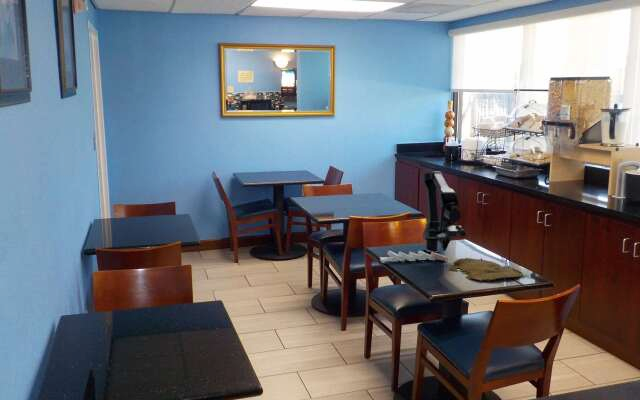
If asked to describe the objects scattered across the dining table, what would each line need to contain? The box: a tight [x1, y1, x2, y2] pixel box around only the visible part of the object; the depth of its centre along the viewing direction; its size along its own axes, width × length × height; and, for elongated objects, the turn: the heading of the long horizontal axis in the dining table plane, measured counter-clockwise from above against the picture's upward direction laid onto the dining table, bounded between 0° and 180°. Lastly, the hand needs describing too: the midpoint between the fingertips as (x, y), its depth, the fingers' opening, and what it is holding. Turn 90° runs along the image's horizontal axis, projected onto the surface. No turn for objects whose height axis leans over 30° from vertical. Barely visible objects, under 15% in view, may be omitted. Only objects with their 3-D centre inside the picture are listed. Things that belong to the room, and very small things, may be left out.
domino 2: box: [386, 250, 406, 262], centre depth 266 cm, size 4×2×7 cm
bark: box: [448, 257, 524, 282], centre depth 253 cm, size 28×4×30 cm
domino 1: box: [379, 256, 398, 264], centre depth 266 cm, size 4×2×7 cm
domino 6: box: [429, 252, 449, 261], centre depth 270 cm, size 4×2×7 cm
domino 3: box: [397, 250, 417, 262], centre depth 266 cm, size 4×2×7 cm
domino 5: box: [416, 250, 436, 261], centre depth 270 cm, size 4×2×7 cm
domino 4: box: [407, 251, 427, 261], centre depth 269 cm, size 4×2×7 cm
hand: (444, 250), depth 271 cm, fingers closed
